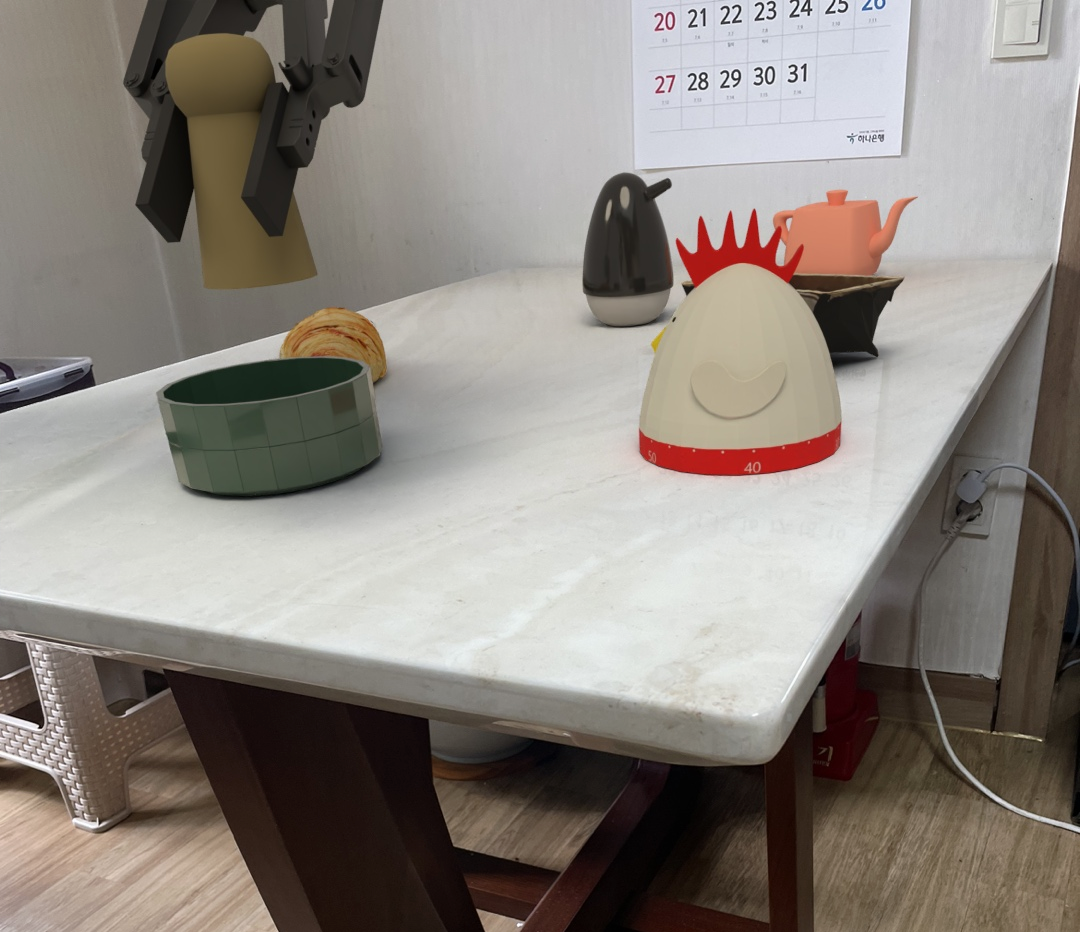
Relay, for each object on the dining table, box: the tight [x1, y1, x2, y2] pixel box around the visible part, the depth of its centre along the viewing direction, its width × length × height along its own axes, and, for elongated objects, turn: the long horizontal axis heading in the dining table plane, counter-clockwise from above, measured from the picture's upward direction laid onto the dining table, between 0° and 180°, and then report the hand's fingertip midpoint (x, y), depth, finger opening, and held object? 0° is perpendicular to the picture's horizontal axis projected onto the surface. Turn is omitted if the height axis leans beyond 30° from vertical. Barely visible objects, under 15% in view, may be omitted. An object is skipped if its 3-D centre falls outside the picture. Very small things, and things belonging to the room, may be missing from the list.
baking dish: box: [680, 273, 906, 359], centre depth 92 cm, size 14×18×10 cm
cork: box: [165, 33, 318, 290], centre depth 53 cm, size 6×6×11 cm
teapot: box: [772, 189, 919, 276], centre depth 129 cm, size 12×18×10 cm, turn 56°
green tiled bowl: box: [155, 356, 383, 497], centre depth 76 cm, size 15×15×6 cm
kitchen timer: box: [638, 208, 843, 476], centre depth 70 cm, size 14×14×15 cm
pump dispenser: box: [581, 171, 674, 327], centre depth 115 cm, size 10×10×15 cm
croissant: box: [278, 306, 388, 383], centre depth 102 cm, size 21×10×8 cm, turn 8°
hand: (209, 219), depth 51 cm, fingers closed on cork, 5 cm apart
